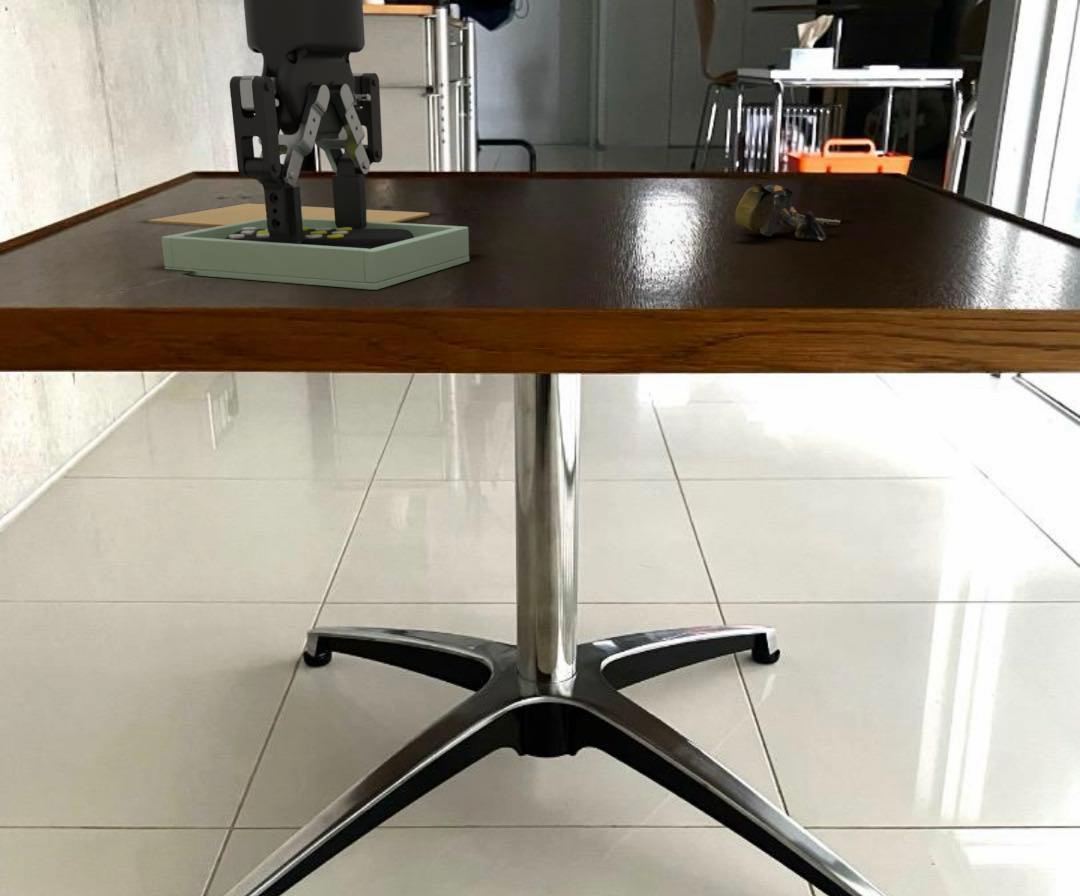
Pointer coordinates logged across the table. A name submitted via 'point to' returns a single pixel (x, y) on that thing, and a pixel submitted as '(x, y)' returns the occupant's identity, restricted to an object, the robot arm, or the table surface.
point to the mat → (259, 211)
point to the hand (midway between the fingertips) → (320, 236)
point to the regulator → (776, 213)
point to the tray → (317, 255)
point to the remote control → (333, 236)
